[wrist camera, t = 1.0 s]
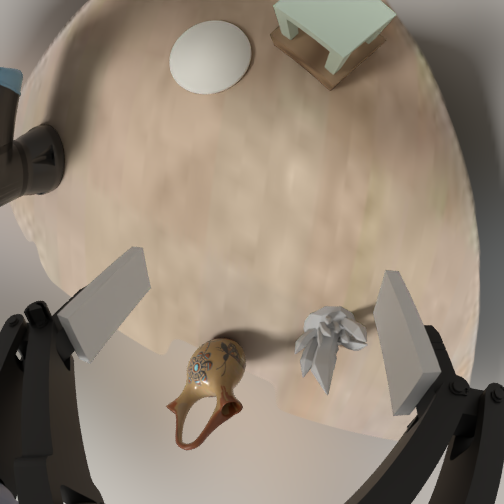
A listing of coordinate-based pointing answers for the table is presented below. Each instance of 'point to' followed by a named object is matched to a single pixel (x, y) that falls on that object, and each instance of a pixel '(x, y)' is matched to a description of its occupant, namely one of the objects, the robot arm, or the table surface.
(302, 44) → the walnut box
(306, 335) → the crystal
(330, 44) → the stool
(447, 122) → the table surface
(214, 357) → the ceramic vessel
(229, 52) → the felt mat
